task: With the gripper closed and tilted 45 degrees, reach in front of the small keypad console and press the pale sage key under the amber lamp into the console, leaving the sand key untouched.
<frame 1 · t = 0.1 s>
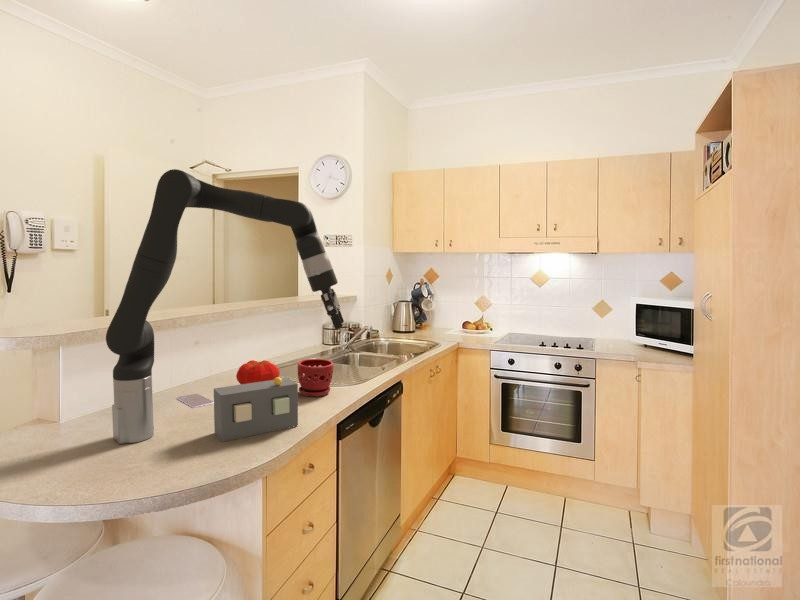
hand: (339, 325, 130), 31 cm above the worktop, tool tilted 20°, fingers open, 8 cm apart
tomato: (258, 387, 180), on the worktop
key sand: (241, 411, 128), point 8 cm above the worktop, slide at 0.0 cm
plant pot: (315, 394, 172), on the worktop
keypad console: (257, 429, 135), on the worktop
key sage: (279, 404, 134), point 8 cm above the worktop, slide at 0.0 cm
mobile phone: (195, 402, 161), on the worktop
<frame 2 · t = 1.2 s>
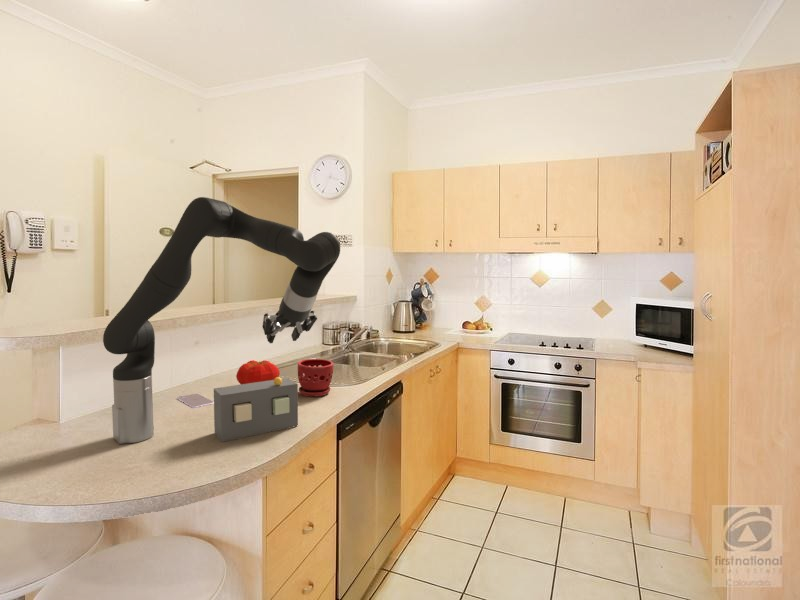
hand: (281, 339, 124), 28 cm above the worktop, tool tilted 45°, fingers open, 6 cm apart
nothing on the worktop moved.
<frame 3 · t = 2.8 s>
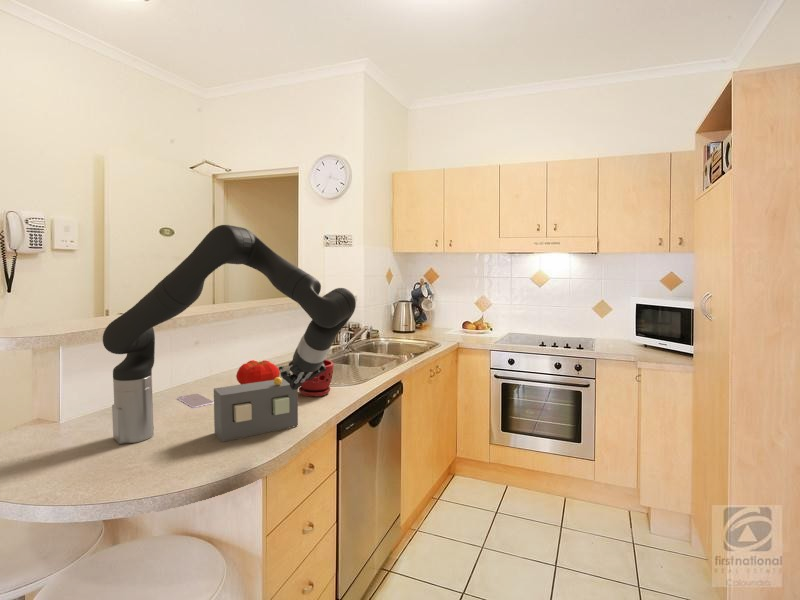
hand: (293, 386, 125), 16 cm above the worktop, tool tilted 45°, fingers closed
nothing on the worktop moved.
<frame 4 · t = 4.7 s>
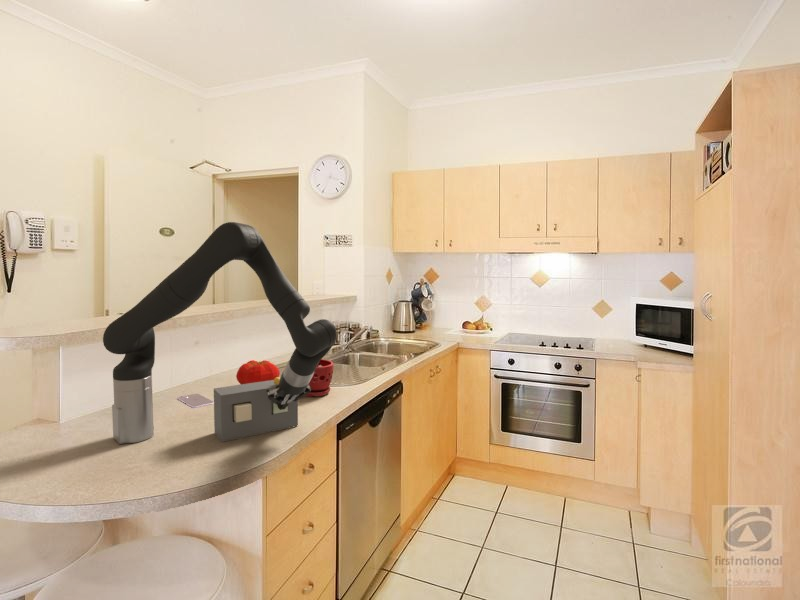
hand: (281, 406, 133), 7 cm above the worktop, tool tilted 45°, fingers closed
key sage: (278, 403, 135), point 8 cm above the worktop, slide at 1.2 cm, touching gripper
everything else where it was.
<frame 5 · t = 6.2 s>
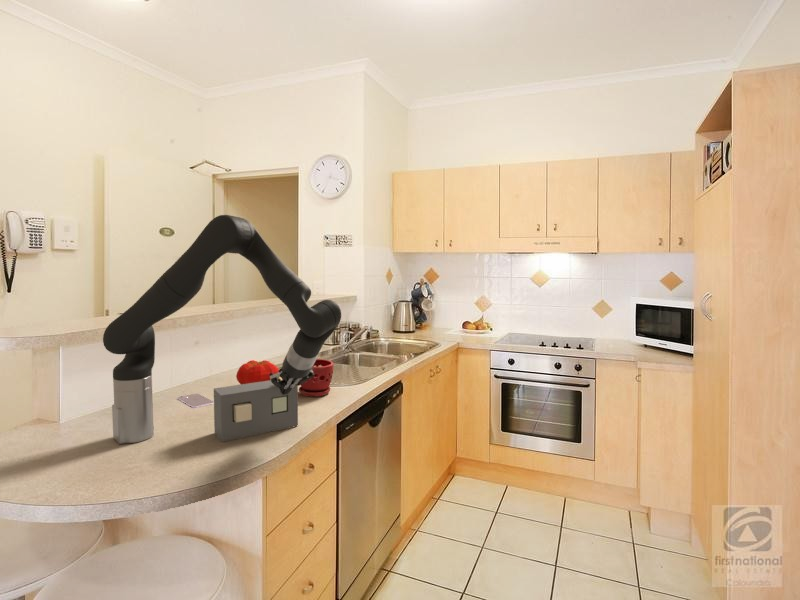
hand: (283, 391, 131), 12 cm above the worktop, tool tilted 45°, fingers closed
key sage: (277, 402, 136), point 8 cm above the worktop, slide at 2.2 cm
everything else where it was.
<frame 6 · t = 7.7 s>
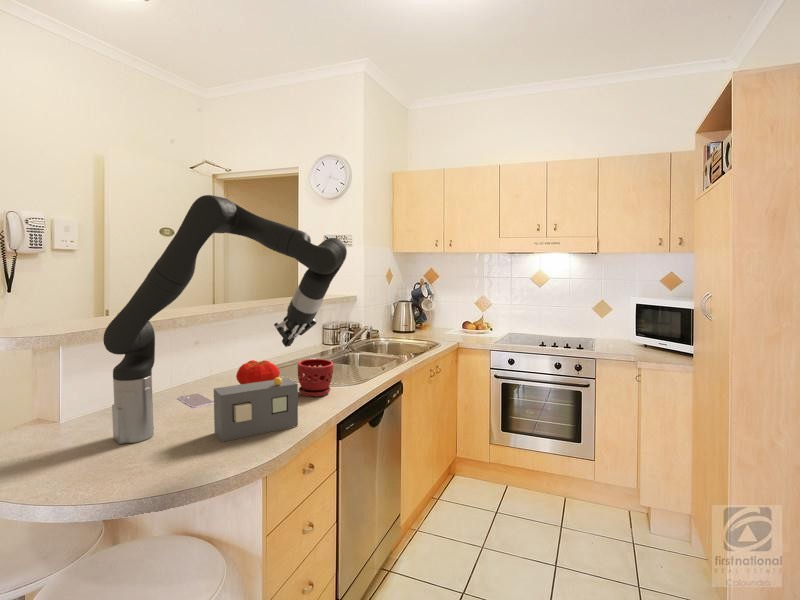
hand: (286, 344, 131), 26 cm above the worktop, tool tilted 40°, fingers closed
nothing on the worktop moved.
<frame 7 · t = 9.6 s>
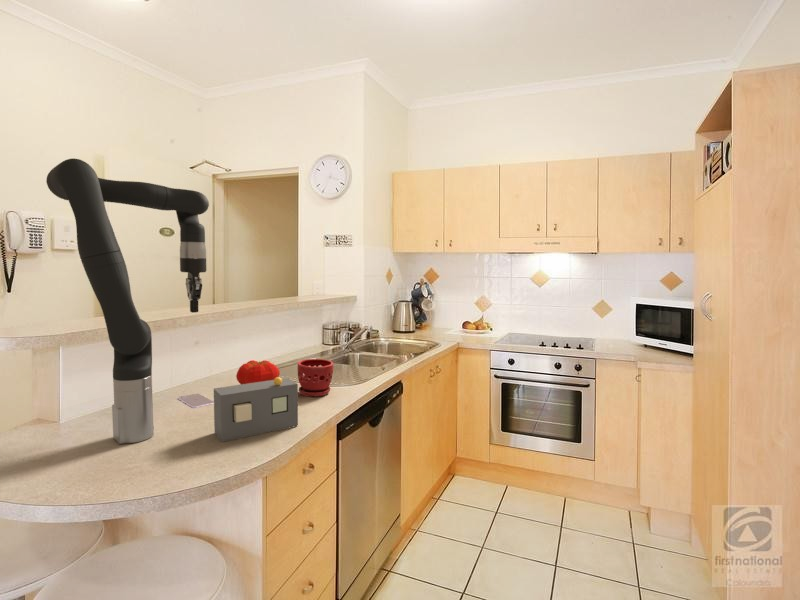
hand: (194, 312, 145), 33 cm above the worktop, tool pointing down, fingers closed
nothing on the worktop moved.
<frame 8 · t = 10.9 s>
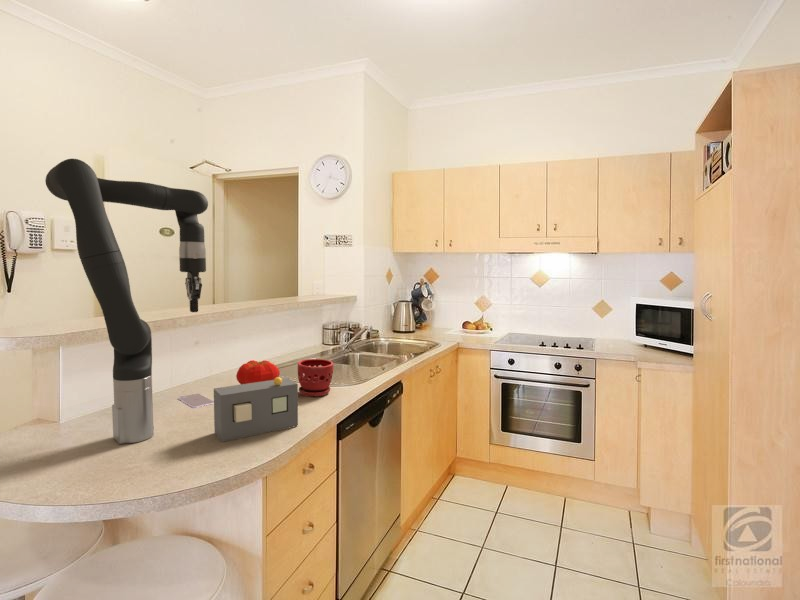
hand: (194, 311, 145), 33 cm above the worktop, tool pointing down, fingers closed
nothing on the worktop moved.
at the end: key sage slide at 2.2 cm; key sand slide at 0.0 cm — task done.
